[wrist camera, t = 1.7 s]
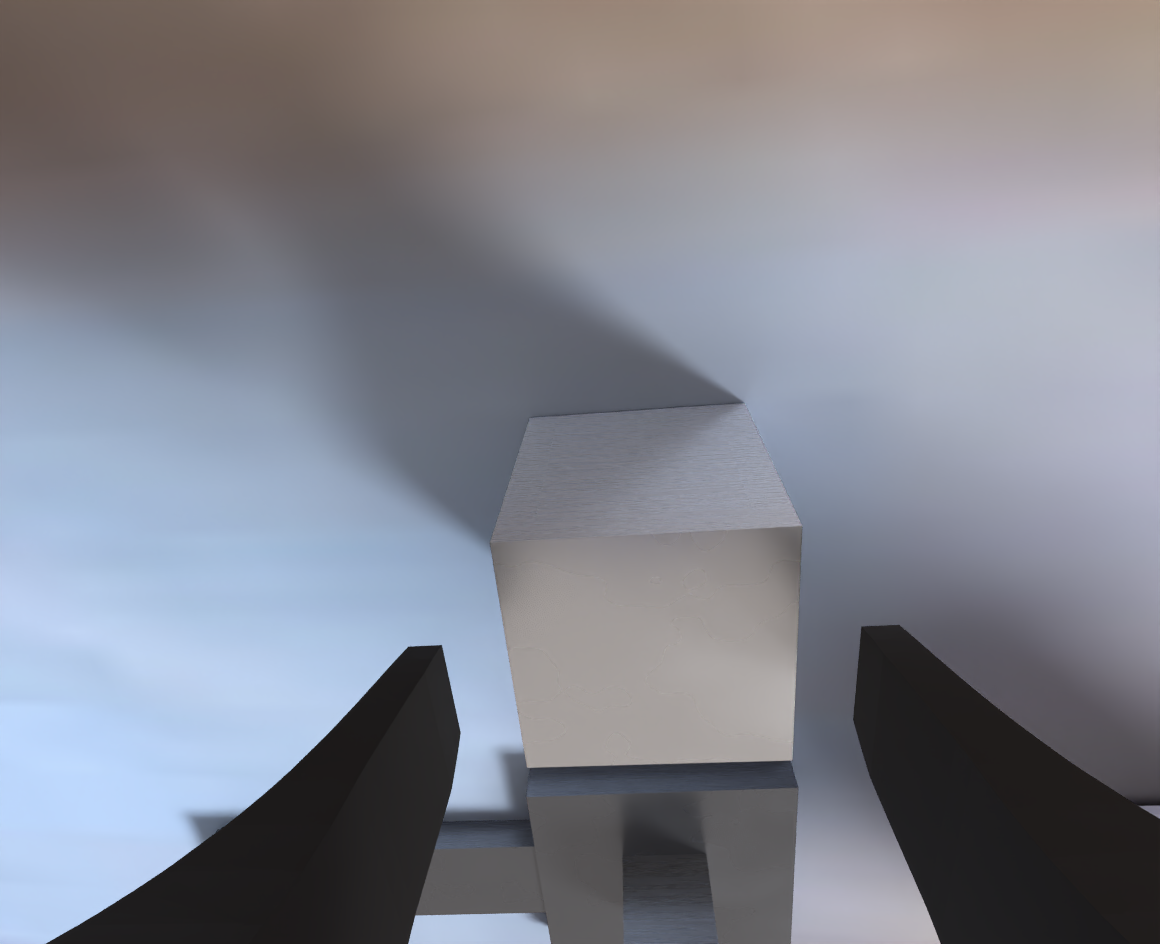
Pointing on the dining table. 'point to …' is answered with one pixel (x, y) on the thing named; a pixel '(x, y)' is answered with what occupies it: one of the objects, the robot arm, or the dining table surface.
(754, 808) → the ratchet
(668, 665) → the brushed metal cube
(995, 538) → the dining table surface
